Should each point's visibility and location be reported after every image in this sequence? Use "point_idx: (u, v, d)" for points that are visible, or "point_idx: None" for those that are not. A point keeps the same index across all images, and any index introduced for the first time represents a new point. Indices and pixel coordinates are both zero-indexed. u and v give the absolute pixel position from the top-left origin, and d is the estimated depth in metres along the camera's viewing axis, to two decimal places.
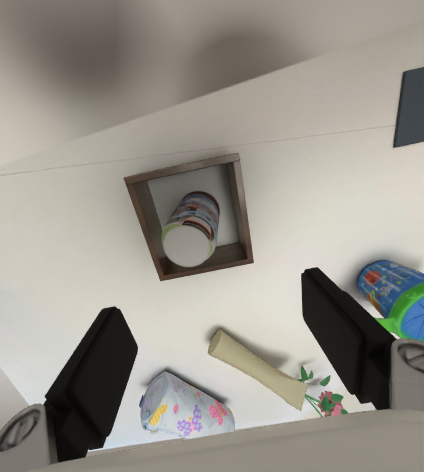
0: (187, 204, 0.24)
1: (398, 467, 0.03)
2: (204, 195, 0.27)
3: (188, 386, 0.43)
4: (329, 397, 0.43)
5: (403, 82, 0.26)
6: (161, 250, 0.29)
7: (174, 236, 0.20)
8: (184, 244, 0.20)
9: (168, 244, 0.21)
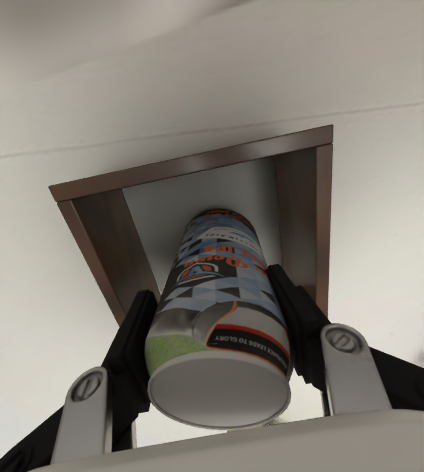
0: (207, 248, 0.10)
1: (398, 467, 0.03)
2: (234, 219, 0.13)
3: None
4: None
5: None
6: None
7: (182, 376, 0.06)
8: (212, 392, 0.07)
9: (162, 390, 0.07)
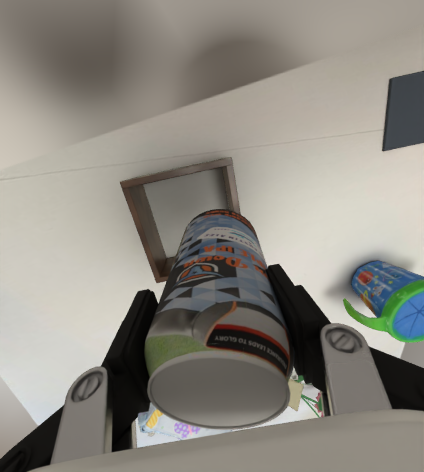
0: (207, 249, 0.10)
1: (397, 467, 0.03)
2: (234, 219, 0.13)
3: None
4: None
5: (390, 88, 0.27)
6: (157, 252, 0.30)
7: (181, 377, 0.06)
8: (212, 392, 0.07)
9: (162, 390, 0.07)
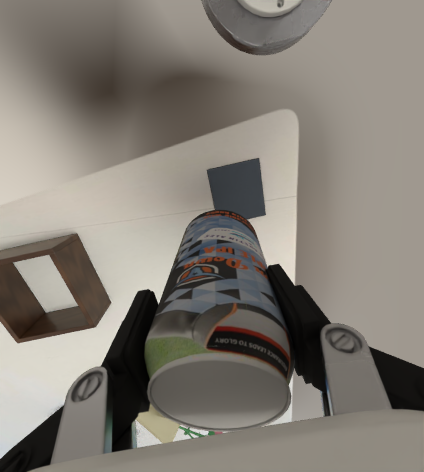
0: (207, 250, 0.10)
1: (398, 466, 0.03)
2: (235, 220, 0.13)
3: None
4: None
5: None
6: (21, 315, 0.34)
7: (182, 379, 0.06)
8: (212, 394, 0.07)
9: (162, 392, 0.07)
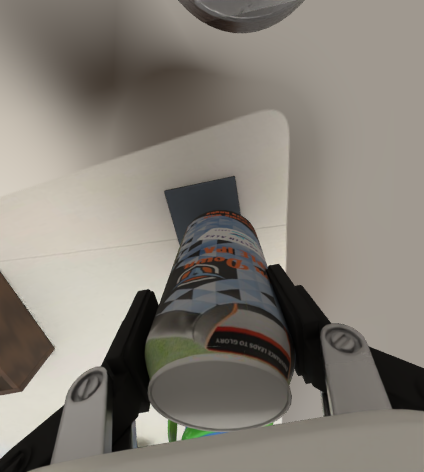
0: (207, 250, 0.10)
1: (398, 466, 0.03)
2: (235, 220, 0.13)
3: None
4: None
5: (167, 201, 0.23)
6: None
7: (182, 379, 0.06)
8: (213, 394, 0.07)
9: (162, 393, 0.07)
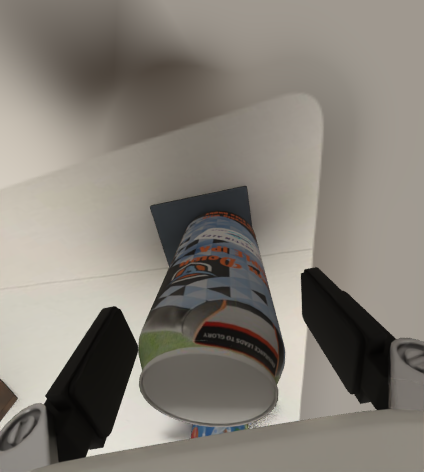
0: (203, 249, 0.10)
1: (398, 467, 0.03)
2: (233, 220, 0.14)
3: None
4: None
5: None
6: None
7: (171, 371, 0.07)
8: (201, 388, 0.07)
9: (153, 385, 0.07)
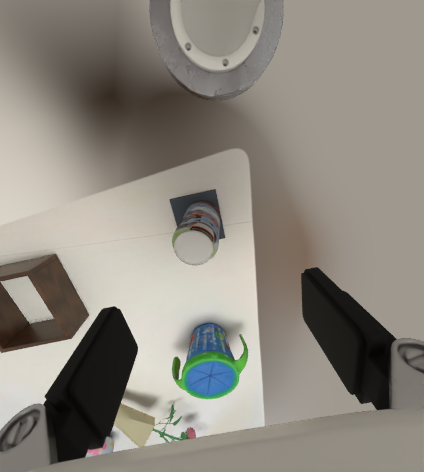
0: (193, 212, 0.28)
1: (398, 467, 0.03)
2: (207, 204, 0.31)
3: None
4: (189, 433, 0.50)
5: None
6: (5, 327, 0.37)
7: (183, 240, 0.24)
8: (191, 246, 0.24)
9: (178, 246, 0.25)
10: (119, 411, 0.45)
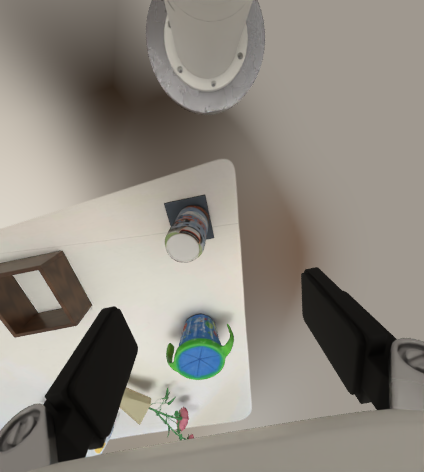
0: (183, 216, 0.32)
1: (398, 466, 0.03)
2: (197, 209, 0.35)
3: None
4: (182, 412, 0.56)
5: (166, 209, 0.39)
6: (17, 315, 0.42)
7: (173, 241, 0.28)
8: (181, 246, 0.29)
9: (169, 246, 0.29)
10: None
